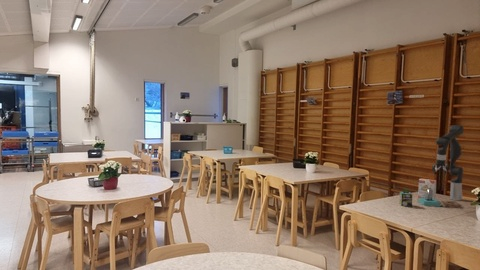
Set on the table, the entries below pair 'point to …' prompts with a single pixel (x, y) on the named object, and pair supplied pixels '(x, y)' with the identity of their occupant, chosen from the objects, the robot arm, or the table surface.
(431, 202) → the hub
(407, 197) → the chalk box
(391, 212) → the table surface
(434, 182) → the cracker box
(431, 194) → the peg
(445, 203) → the frame
